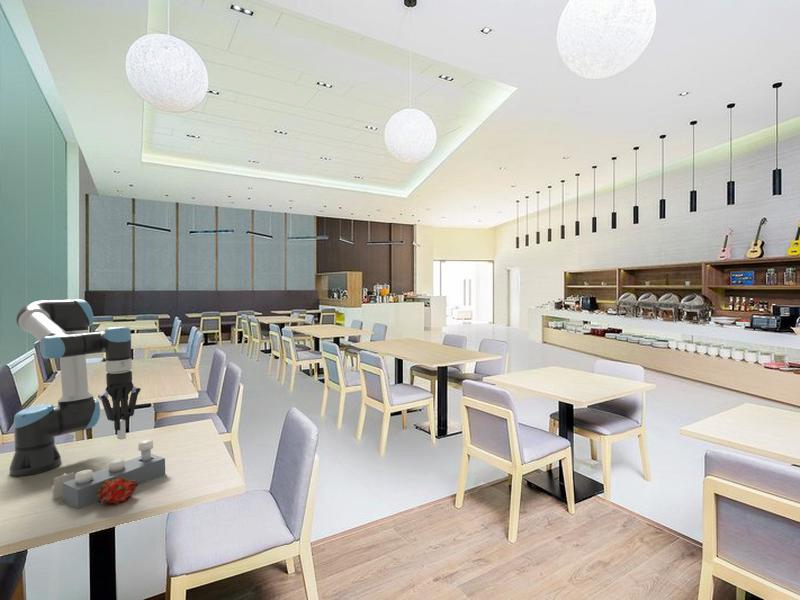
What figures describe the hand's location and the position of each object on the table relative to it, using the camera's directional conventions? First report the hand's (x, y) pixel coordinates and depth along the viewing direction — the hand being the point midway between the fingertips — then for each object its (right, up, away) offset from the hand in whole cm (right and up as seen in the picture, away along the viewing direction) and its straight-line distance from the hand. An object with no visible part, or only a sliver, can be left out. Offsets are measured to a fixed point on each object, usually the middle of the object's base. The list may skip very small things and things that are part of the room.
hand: (121, 438), depth 149 cm
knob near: (-6, -16, -10) cm, 20 cm away
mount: (-1, -17, -1) cm, 17 cm away
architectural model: (-15, -18, -6) cm, 24 cm away
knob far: (+4, -12, +8) cm, 15 cm away
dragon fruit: (+6, -17, -11) cm, 21 cm away
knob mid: (-1, -16, -1) cm, 16 cm away
